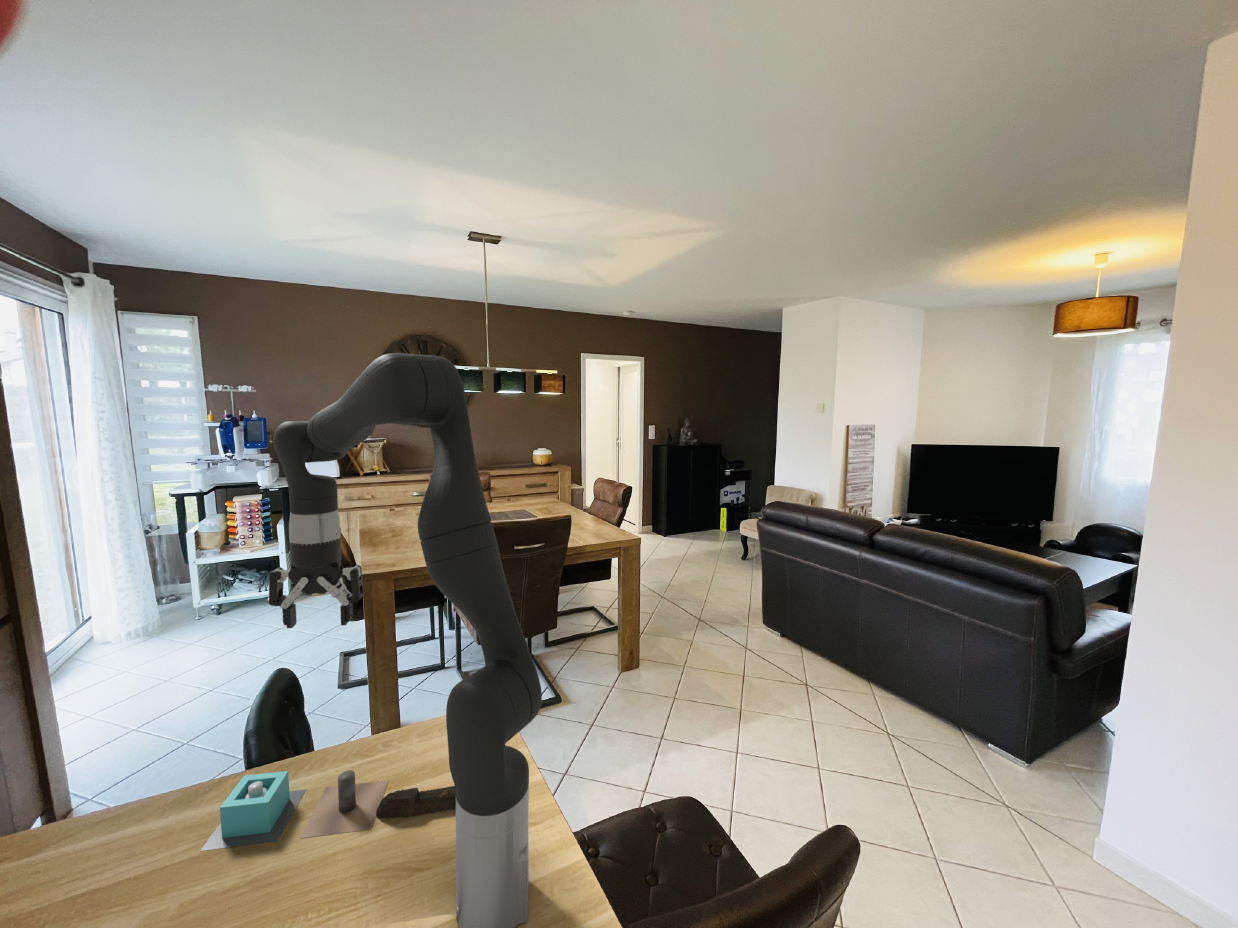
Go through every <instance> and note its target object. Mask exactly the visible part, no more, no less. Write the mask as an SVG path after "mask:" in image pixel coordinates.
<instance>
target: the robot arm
mask: <svg viewBox="0 0 1238 928" xmlns="http://www.w3.org/2000/svg"><path fill="white" fill-rule="evenodd" d="M460 375H461V374H460V373H459V371H458V369H457V367H456V366H455V364H454V363H453V362H452V361H451V360H449V359H448V358H447V357H443V356H439V355H437V356H436V355H427V354H419V353H418V354H417V353H416V354H415V353H404V352H392V353H386V354H382V355H381V356H379V357H376V358H375V359H374V360H373V361H372V362H371V363H370V364H368V366H367V367H366V368H365V369H364V370H363V371H362V372H361V374H360V375H359V376H358V377H357V378H356V379H355V380H354V382H353V383H352V384H351V385H350V387H349V388H348V389H347V390H346V391H345V392H344V393H343V395H342V396H341V397H340V398H339V399H338V400H336V401H335V402H333V403H331V404H330V405H328V406H326V407H324V408H323V409H321V410H319V411H318V412H317V413H315V414H314V415H313V416H312V417H311V418H310V419H309V420H299V421H298V420H288V421H284V422H282V423H281V424H279V425H278V427H277V428H276V429H275V431H274V434H273V446H274V449H275V453H276V455H277V457H278V460H279V462H280V464H281V467H282V470H283V473H284V477H285V480H286V483H287V487H288V488H287V489H288V494H289V496H288V497H289V512H290V513H289V523H288V534H289V535H288V536H289V558H290V569H284V568H282V567H277V568H275V569H274V570H273V571H271V572H269V574H268V575H269V581H268V605H270V606H272V607H273V606H277V607H278V606H279V607H280V608H281V609H282V611H281V612H282V623H283V626H286V629H293V628H294V627H295V626H296V625H297V621H298V620H297V606H296V605H297V604H296V603H295V601H296V600H297V598H298V597H299V596H300V595H301V594H302V593H303V594H305V595H306V596H307V595H314V594H320V595H324V594H325V595H326V594H327V593H328V594H329V595H330V596H331V597H333V598H335V599H336V600H337V601H339V603H340V604H341V605H340V606H339V608H340V611H339V612H340V626H341V627H342V626H347V625H348V623H349V622H350V621H351V619H352V618H353V603H356V602H357V603H358V602H359V601H360V600H361V598H362V597H363V596H364V594H365V592H364V580H363V572H362V571H363V570H362V566H361V565H360V564H356V565H355V566H354V567H344V566H343V565H342V545H341V533H342V528H341V521H340V516H339V500H338V497H339V496H338V484H337V480H336V479H335V478H334V477H332V476H329V475H323V474H312V473H311V472H309V470H308V468H307V466H306V464H308V463H319V462H320V463H321V462H323V463H325V462H333V461H337V460H341V459H342V458H344V457H345V456H346V455H347V453H348V451H349V450H350V449H351V448H353V447H355V446H357V445H360V444H361V443H363V442H364V441H366V440H367V439H369V437H371V436H372V435H373V432H374V431H375V429H376V426H377V425H378V426H379V425H385V424H392V425H394V424H395V425H403V426H408V425H411V426H412V425H428V427H429V430H430V436H431V439H432V440H431V441H432V446H433V448H432V449H433V453H434V455H433V456H434V458H433V468H432V473H431V477H430V480H429V483H428V485H427V488H426V491H425V494H424V496H423V500H422V503H421V506H420V510H419V513H418V520H417V533H418V538H419V540H420V541H419V543H420V546H421V549H422V553H423V558H424V561H425V566H426V570H427V573H428V575H429V578H430V579H431V581H432V583H433V585H435V587H436V588H437V590H439V591H440V592H441V594H443V596H444V597H445V598H446V599H448V600H449V601H450V603H451V604H453V605H454V606H455V607H456V608H457V609H458V610H459V611H460V612H461V613H462V614H463V615H464V617H466V618H467V620H468V621H469V622H470V624H471V625H472V627H473V629H474V631H475V633H476V634H477V635H476V636H477V638H478V640H479V643H480V647H481V650H482V654H483V658H484V665H485V666H483V667H481V668H480V669H478V670H477V671H475V672H473V673H472V674H470V675H468V676H467V677H465V678H464V679H462V680H460V681H459V682H457V684H455V685H454V686H453V687H452V689H451V691H450V693H449V694H448V698H447V702H446V708H445V713H446V715H445V720H446V737H447V749H448V765H449V766H448V767H449V770H450V775H451V778H452V781H453V784H454V785H453V786H455V790H456V809H455V887H456V889H455V890H456V892H455V894H456V895H455V896H456V897H455V907H456V909H455V910H456V920H457V921H456V922H457V925H458V927H459V928H516V927H517V926H518V925H521V924H525V923H527V922H528V921H529V860H530V859H529V856H530V855H529V848H530V847H529V799H530V798H529V796H530V795H529V793H530V791H529V790H530V767H529V763H528V760H527V758H526V756H525V754H524V753H522V752H521V751H520V750H518V749H517V748H515V747H514V746H513V747H512V746H510V745H506V744H507V743H508V742H509V741H510V740H512V739H513V738H514V737H515V736H516V735H518V734H519V733H520V732H521V731H522V730H524V728H526V727H527V726H528V725H529V724H530V723H531V722H532V721H533V720H534V719H535V718H536V716H538V714H539V712H540V710H541V707H542V701H543V697H542V696H543V694H542V693H543V692H542V686H541V681H540V678H539V674H538V671H537V667H536V664H535V662H534V659H533V657H532V654H531V651H530V648H529V645H528V643H527V641H526V636H525V635H524V633H523V629H522V627H521V623H520V622H519V618H518V616H517V612H516V609H515V606H514V602H513V600H512V594H511V591H510V589H509V584H508V582H507V578H506V575H505V571H504V566H503V563H502V562H503V561H502V559H501V554H500V549H499V548H500V547H499V544H498V540H497V536H496V533H495V529H494V528H495V527H494V525H493V522H492V518H491V515H490V512H489V507H488V504H487V502H486V497H485V493H484V489H483V486H482V485H483V484H482V480H481V477H480V472H479V467H478V463H477V457H476V454H475V449H474V441H473V436H472V429H471V424H470V415H469V410H468V403H467V397H466V392H465V388H464V384H463V381H462V378H461V376H460ZM343 576H345V577H346V578H347V580H348V581H350V589H351V592H350V591H349V590H348V589H347V586H346V584H345V583H343V582H342V580H341V578H342V577H343ZM287 579H290V581H291V582H292V583H293V584H294V587H293V589H292V590H291V591H290V592H289V593H288V595H286V596H285V595H284V583H285V582H286V581H287Z"/></svg>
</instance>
